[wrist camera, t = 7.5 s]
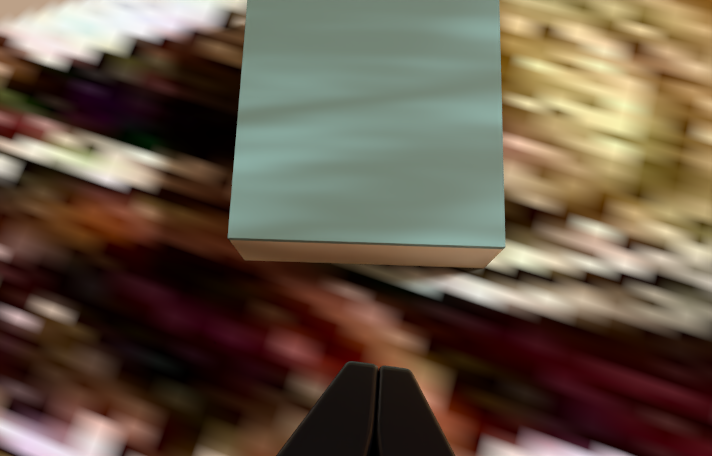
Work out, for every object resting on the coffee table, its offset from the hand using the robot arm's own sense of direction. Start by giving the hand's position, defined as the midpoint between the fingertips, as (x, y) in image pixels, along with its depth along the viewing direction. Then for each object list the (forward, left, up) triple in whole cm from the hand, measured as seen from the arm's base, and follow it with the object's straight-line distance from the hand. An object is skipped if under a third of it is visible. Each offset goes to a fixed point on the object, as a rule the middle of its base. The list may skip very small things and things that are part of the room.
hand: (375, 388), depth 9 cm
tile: (+3, +3, -11) cm, 12 cm away
